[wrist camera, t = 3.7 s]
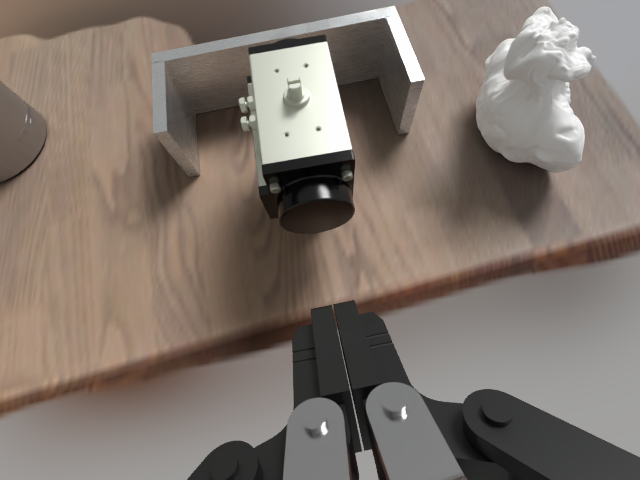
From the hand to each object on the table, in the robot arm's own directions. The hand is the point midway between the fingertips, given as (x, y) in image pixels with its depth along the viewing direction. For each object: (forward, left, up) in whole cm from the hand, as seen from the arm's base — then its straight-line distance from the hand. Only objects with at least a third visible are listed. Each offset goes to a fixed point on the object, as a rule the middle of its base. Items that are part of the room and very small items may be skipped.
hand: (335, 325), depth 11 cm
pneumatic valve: (0, +12, -13) cm, 18 cm away
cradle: (0, +21, -13) cm, 24 cm away
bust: (+18, +14, -14) cm, 27 cm away
